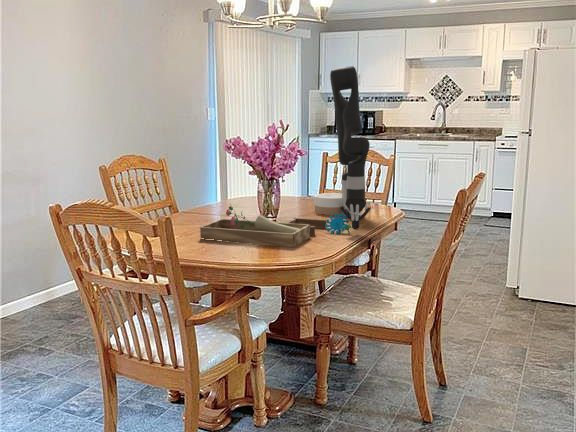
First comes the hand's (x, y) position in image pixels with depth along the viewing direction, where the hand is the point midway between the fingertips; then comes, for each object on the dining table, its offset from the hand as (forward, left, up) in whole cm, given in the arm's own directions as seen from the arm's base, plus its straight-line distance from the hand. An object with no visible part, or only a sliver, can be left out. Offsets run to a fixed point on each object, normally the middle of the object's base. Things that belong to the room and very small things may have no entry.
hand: (355, 229), depth 235 cm
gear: (0, -8, -2) cm, 8 cm away
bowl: (-45, -25, -2) cm, 51 cm away
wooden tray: (+20, -36, -2) cm, 41 cm away
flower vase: (+18, -34, -2) cm, 38 cm away
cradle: (0, -22, -2) cm, 22 cm away
